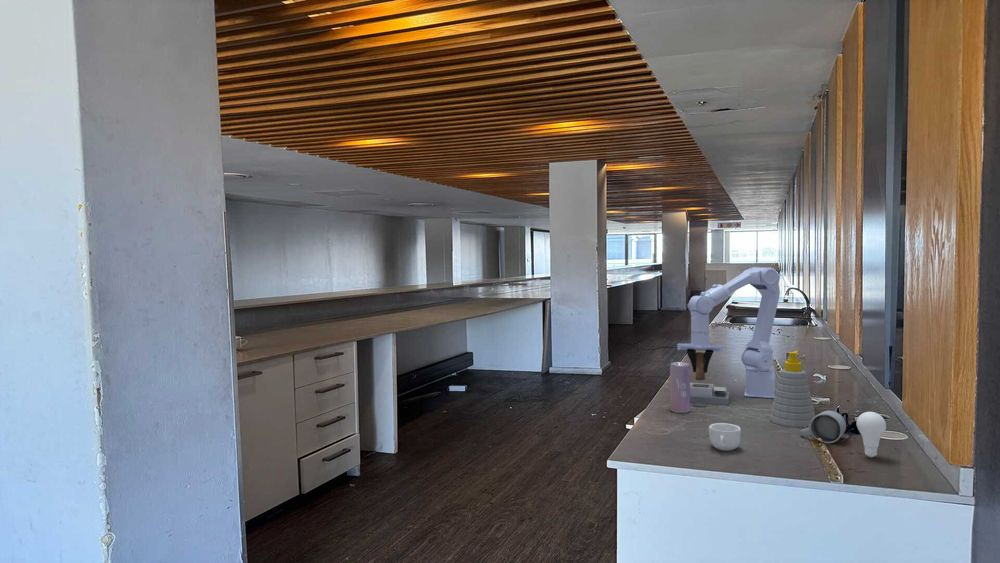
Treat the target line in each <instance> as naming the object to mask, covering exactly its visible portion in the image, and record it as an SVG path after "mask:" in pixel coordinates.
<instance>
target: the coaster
mask: <svg viewBox="0 0 1000 563" xmlns="http://www.w3.org/2000/svg"><path fill="white" fill-rule="evenodd" d="M706 406H707V407H708V405H707V403H693V402H692V407H694V408H695V407H696V408H706Z"/></svg>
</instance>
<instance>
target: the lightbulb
mask: <svg viewBox="0 0 1000 563" xmlns="http://www.w3.org/2000/svg"><path fill="white" fill-rule="evenodd" d="M856 427H857V430H858V432H859V434H860V436H861V438H862V442H863V447H864V454H865V455H866V456H867V457H868V458H874V457H876V456H878V448H879V444H880V440H881V439H882V437H883V435H884V433H885V431H886V429H887V423H886V420H885V418H884V417H883V416H882V415H881V414H879V413H877V412H874V411H865V412H863V413H861V414H860V415H859V416H858V417H857V419H856Z"/></svg>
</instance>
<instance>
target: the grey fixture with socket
mask: <svg viewBox="0 0 1000 563" xmlns="http://www.w3.org/2000/svg"><path fill="white" fill-rule="evenodd" d="M714 387H715V383H701V382H699V383H698V382H690V403H693V402H694V403H705V404H707V403H708V404H711V405H721V406H722V405H724V406H729V402H730V399H731V391H727V392H722V391H714Z"/></svg>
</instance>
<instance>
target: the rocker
mask: <svg viewBox="0 0 1000 563" xmlns="http://www.w3.org/2000/svg"><path fill="white" fill-rule="evenodd" d="M714 391H722V392H728V391H727V387H725V386H714Z"/></svg>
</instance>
